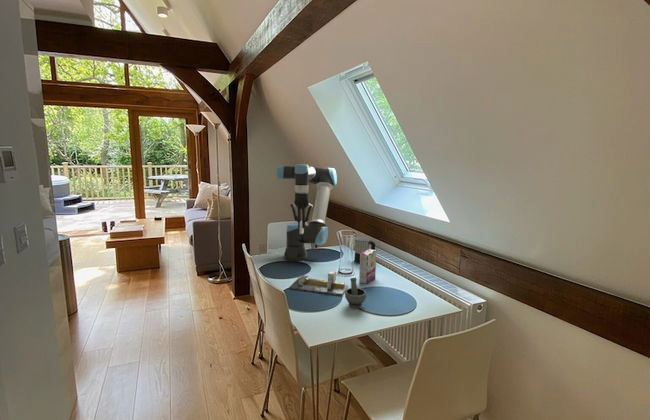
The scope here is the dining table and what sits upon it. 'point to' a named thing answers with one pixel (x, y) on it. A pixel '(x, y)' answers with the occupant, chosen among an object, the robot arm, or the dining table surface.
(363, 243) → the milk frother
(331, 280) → the block
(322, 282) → the beam
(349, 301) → the mortar and pestle
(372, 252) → the candy bar box
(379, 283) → the dining table surface
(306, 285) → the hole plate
